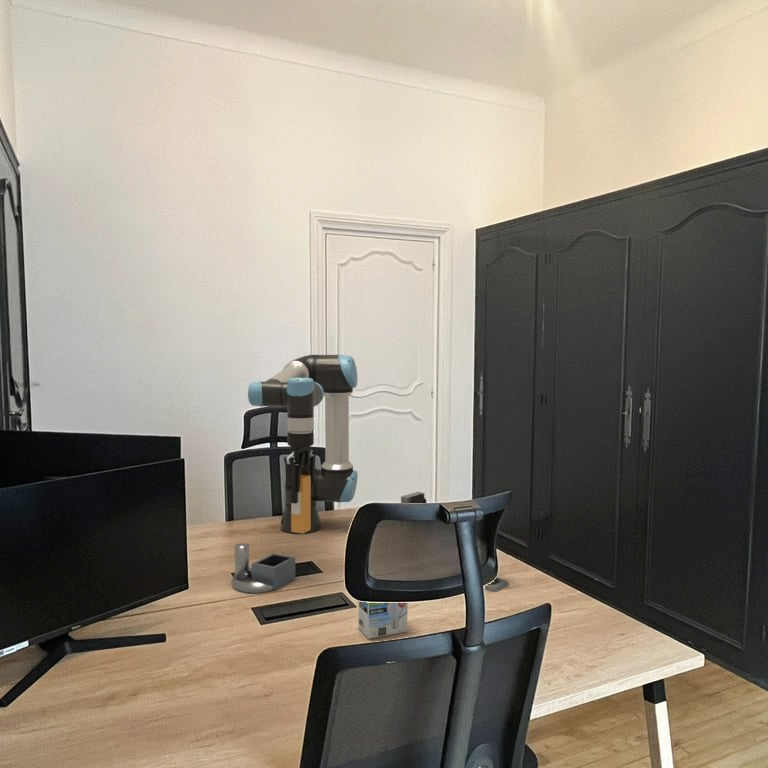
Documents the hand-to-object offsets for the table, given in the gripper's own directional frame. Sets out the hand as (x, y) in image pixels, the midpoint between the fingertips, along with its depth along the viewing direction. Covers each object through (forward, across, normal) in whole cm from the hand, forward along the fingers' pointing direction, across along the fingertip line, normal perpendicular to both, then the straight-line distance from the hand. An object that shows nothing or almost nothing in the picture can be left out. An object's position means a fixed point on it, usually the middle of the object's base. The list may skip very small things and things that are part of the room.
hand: (300, 511), depth 184 cm
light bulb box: (+21, +17, +35) cm, 44 cm away
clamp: (+21, -26, +38) cm, 50 cm away
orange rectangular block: (+6, 0, 0) cm, 6 cm away
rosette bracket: (+21, +7, -10) cm, 24 cm away
